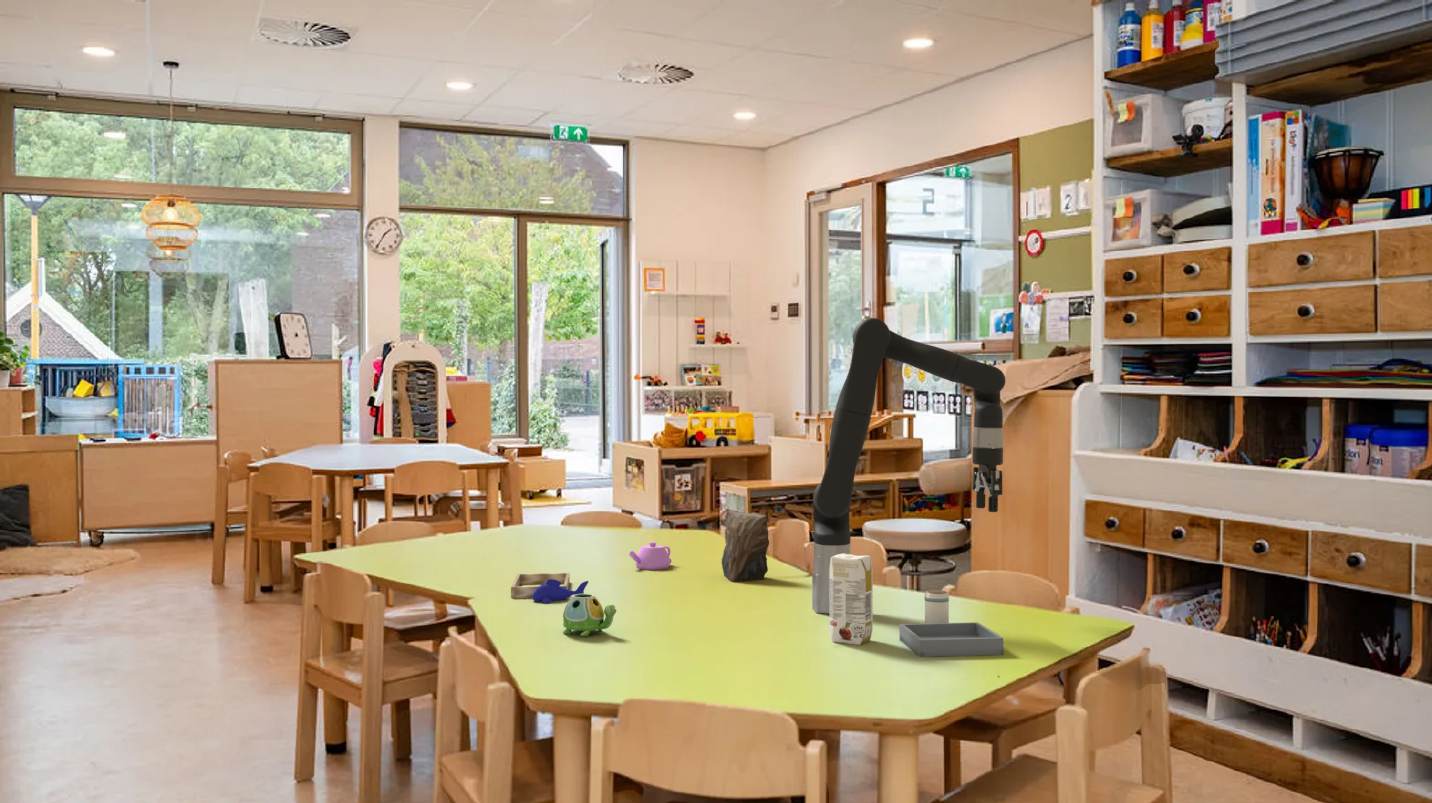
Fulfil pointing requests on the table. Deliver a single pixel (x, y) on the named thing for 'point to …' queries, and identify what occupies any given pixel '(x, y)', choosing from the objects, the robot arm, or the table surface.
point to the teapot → (652, 557)
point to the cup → (936, 606)
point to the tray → (951, 639)
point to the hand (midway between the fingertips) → (986, 510)
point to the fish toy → (555, 591)
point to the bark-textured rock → (745, 547)
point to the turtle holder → (586, 614)
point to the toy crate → (535, 579)
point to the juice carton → (851, 599)
